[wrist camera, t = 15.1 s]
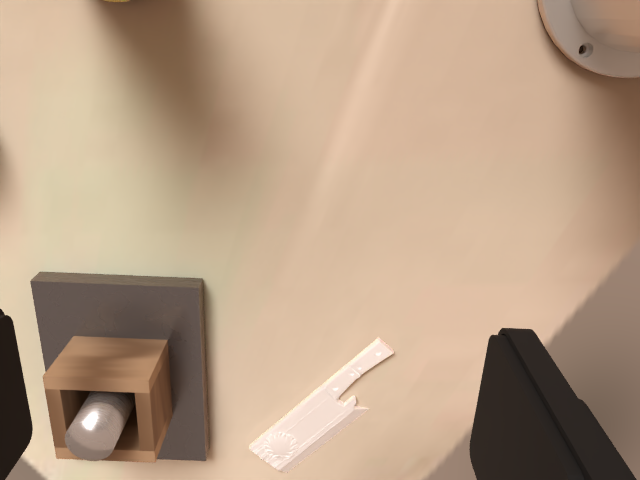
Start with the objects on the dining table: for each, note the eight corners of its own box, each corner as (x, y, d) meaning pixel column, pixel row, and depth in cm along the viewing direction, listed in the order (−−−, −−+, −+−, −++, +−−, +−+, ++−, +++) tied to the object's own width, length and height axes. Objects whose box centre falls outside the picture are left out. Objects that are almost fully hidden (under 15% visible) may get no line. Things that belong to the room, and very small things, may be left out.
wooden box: (167, 340, 42) (148, 380, 37) (172, 415, 45) (155, 462, 40) (73, 336, 42) (42, 376, 37) (84, 411, 45) (56, 458, 40)
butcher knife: (421, 372, 45) (423, 381, 44) (291, 471, 49) (291, 481, 48) (378, 334, 44) (380, 342, 43) (248, 440, 48) (247, 449, 47)
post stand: (202, 278, 42) (174, 340, 34) (209, 447, 48) (186, 534, 40) (40, 271, 42) (-26, 333, 34) (67, 442, 48) (17, 527, 40)
